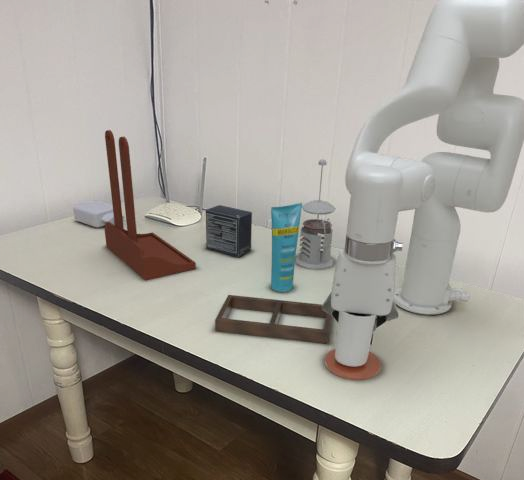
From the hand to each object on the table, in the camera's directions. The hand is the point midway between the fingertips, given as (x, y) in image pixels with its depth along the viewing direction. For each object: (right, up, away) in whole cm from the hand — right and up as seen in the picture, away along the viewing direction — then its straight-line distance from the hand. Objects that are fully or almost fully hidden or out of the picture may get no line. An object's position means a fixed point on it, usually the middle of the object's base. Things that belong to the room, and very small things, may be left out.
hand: (355, 345), depth 99 cm
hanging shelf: (-45, +22, +42) cm, 65 cm away
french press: (-3, +21, +42) cm, 47 cm away
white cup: (-1, -2, +2) cm, 3 cm away
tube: (-12, +13, +29) cm, 34 cm away
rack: (-14, +5, +14) cm, 20 cm away
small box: (-25, +25, +48) cm, 60 cm away
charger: (-62, +35, +63) cm, 95 cm away
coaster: (0, -3, +2) cm, 4 cm away
